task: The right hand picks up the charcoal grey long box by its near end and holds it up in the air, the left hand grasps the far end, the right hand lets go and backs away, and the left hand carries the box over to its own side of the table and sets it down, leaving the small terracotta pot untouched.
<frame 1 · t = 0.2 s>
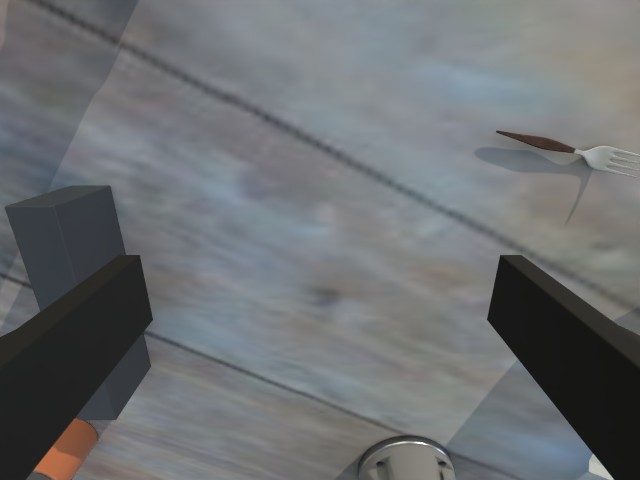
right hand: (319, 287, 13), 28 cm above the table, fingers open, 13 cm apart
long box: (115, 285, 44), on the table
fork: (560, 147, 38), on the table
terracotta pot: (74, 433, 53), on the table
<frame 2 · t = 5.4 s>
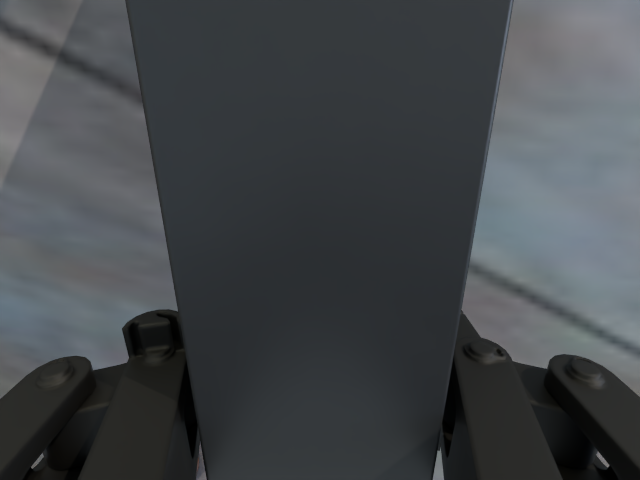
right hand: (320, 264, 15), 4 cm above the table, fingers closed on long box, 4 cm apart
long box: (319, 59, 12), point 4 cm above the table, touching right hand
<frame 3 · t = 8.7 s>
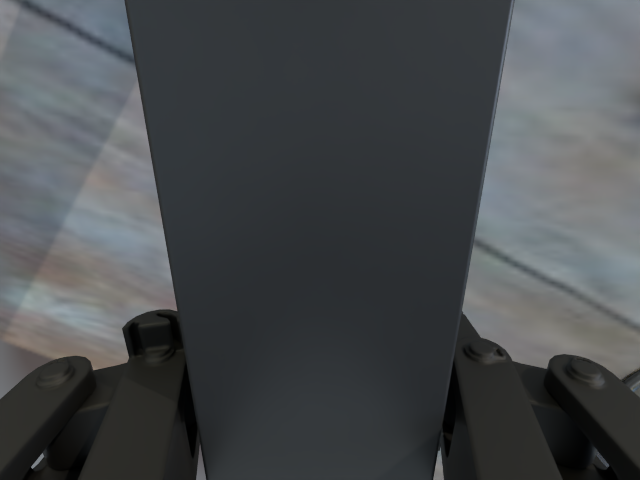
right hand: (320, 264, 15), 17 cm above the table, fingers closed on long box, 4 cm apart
long box: (319, 58, 12), point 16 cm above the table, touching right hand
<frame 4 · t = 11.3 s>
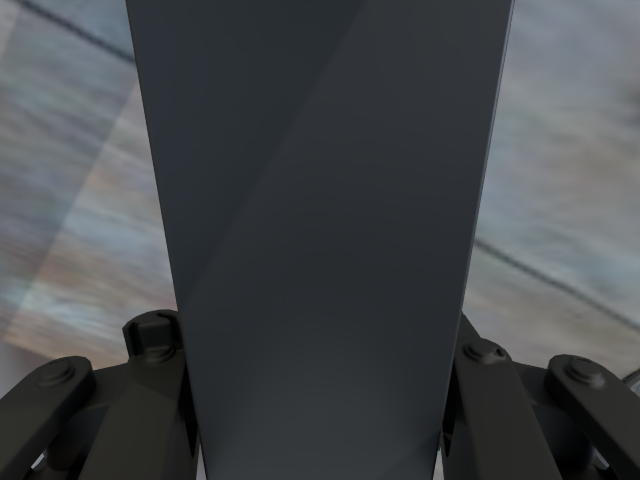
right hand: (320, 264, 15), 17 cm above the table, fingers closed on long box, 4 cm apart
long box: (320, 58, 12), point 16 cm above the table, touching right hand, left hand
when the right hand's fingers open (17 cm above the table, at t = 12.3 s): long box stays where it is, held by the left hand.
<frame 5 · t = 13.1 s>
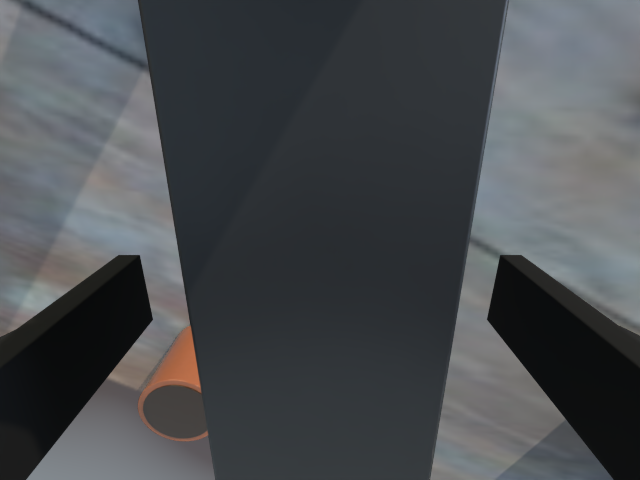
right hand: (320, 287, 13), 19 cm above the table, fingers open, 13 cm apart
long box: (321, 56, 12), point 16 cm above the table, touching left hand
terracotta pot: (207, 350, 37), on the table
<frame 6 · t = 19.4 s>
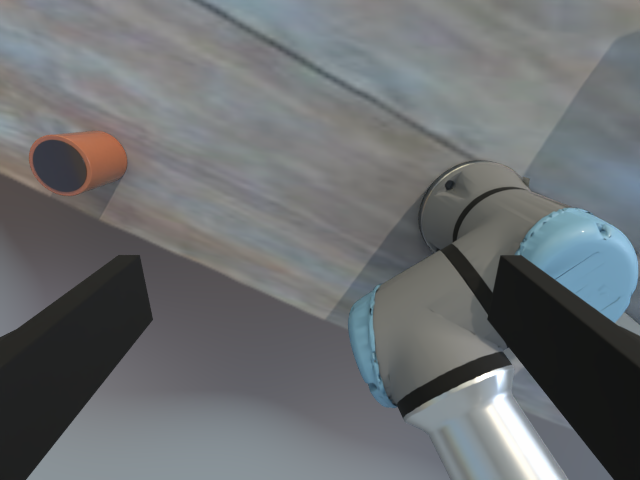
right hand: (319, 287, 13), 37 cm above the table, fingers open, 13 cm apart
terracotta pot: (101, 157, 47), on the table
when the left hand's fingers open (5 cm above the table, at t = 27.8 s): long box stays where it is, on the table.
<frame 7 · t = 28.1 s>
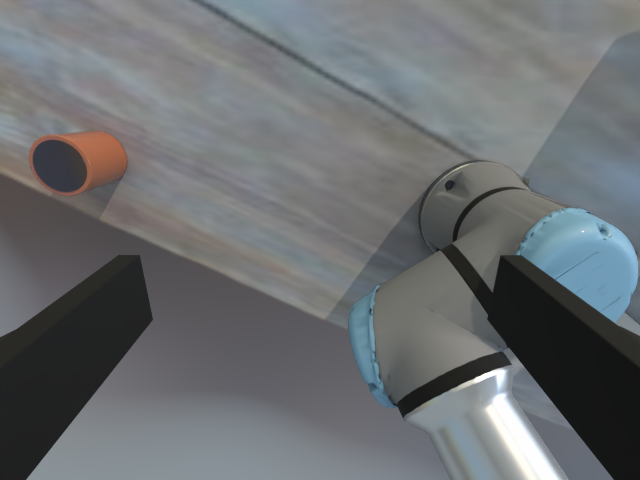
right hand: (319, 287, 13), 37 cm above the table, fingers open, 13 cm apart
terracotta pot: (101, 157, 47), on the table
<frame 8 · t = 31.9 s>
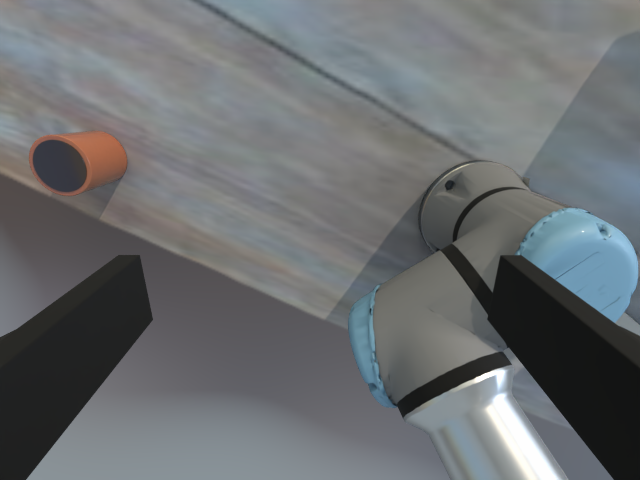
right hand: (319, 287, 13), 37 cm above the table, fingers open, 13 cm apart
terracotta pot: (101, 157, 47), on the table
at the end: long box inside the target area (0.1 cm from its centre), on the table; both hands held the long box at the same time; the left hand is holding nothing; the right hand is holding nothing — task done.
